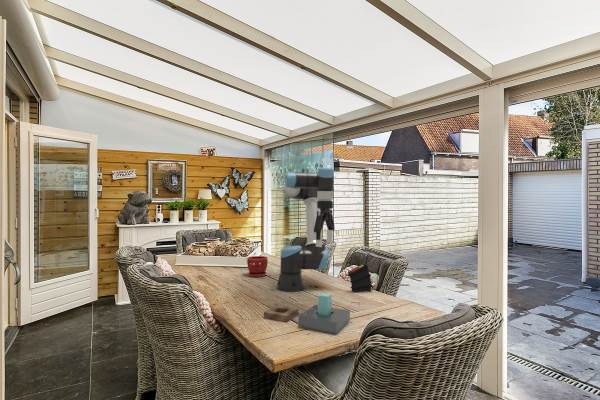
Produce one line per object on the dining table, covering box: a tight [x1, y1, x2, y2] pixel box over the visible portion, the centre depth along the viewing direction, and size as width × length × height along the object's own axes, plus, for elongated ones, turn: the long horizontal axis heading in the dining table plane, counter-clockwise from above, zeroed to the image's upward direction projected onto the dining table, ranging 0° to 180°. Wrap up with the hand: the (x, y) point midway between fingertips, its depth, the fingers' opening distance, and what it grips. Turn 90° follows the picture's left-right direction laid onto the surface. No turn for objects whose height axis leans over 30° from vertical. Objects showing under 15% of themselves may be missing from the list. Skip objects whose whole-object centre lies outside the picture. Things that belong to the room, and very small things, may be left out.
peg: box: [317, 292, 332, 316], centre depth 146 cm, size 4×4×12 cm
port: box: [297, 304, 351, 335], centre depth 146 cm, size 16×16×4 cm
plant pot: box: [246, 255, 269, 278], centre depth 231 cm, size 13×13×12 cm
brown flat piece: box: [263, 304, 300, 323], centre depth 155 cm, size 11×11×2 cm
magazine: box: [347, 263, 373, 293], centre depth 198 cm, size 4×13×15 cm, turn 107°
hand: (324, 245), depth 171 cm, fingers open, 13 cm apart
